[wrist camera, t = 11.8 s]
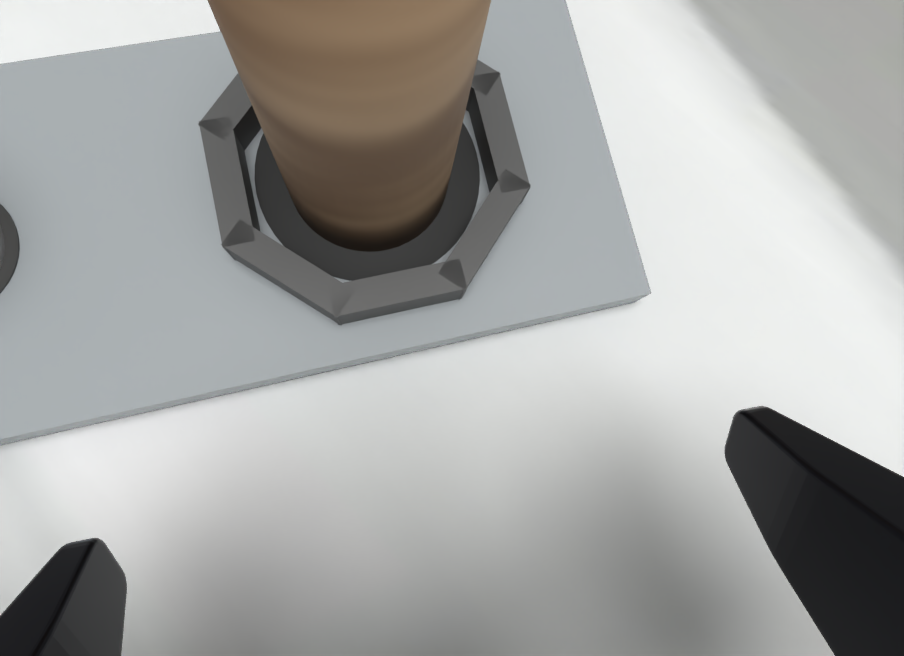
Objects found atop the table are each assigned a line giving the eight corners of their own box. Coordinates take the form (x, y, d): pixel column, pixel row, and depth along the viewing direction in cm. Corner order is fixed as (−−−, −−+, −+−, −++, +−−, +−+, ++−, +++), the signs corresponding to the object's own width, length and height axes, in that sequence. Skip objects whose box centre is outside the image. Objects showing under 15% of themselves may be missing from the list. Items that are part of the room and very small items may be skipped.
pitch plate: (634, 302, 18) (869, 175, 9) (-84, 463, 16) (-729, 507, 7) (550, 8, 20) (683, -350, 11) (-122, 111, 17) (-698, -248, 8)
